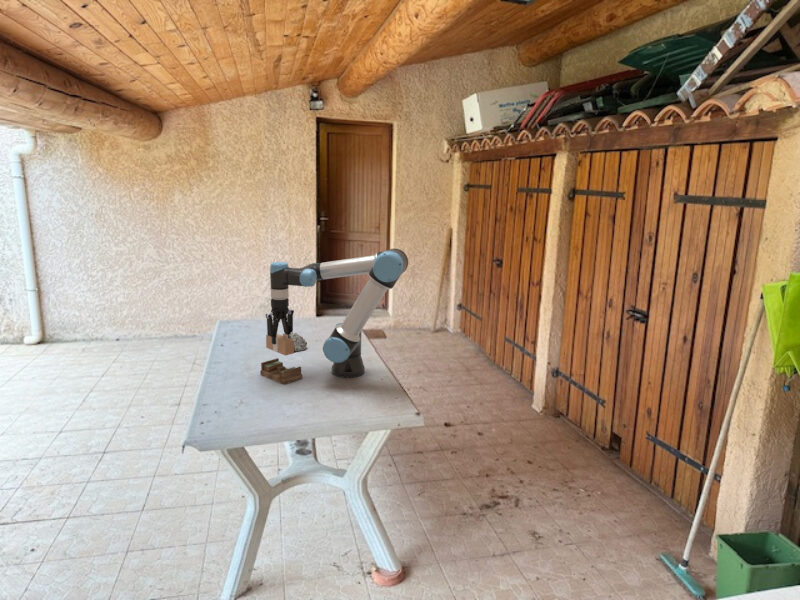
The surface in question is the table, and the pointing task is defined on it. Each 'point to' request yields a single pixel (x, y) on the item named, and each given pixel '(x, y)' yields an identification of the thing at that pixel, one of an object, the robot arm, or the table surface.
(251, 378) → the table surface
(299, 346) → the rock
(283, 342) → the tan rectangular block
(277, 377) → the stand
